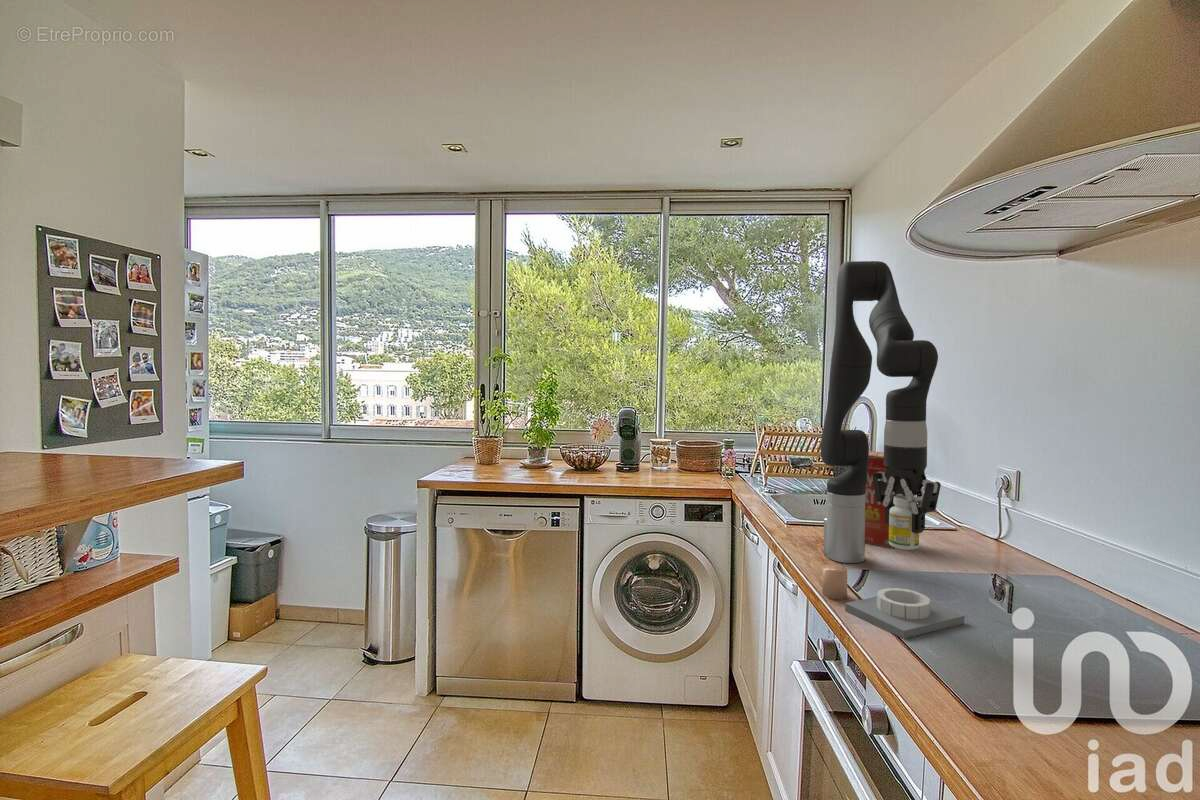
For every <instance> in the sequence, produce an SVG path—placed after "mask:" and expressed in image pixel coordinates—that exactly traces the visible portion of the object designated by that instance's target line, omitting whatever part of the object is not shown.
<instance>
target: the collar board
mask: <svg viewBox="0 0 1200 800" xmlns="http://www.w3.org/2000/svg"><path fill="white" fill-rule="evenodd" d="M844 610H845V611H846V612H848V613H850V614H851V615H854V616H856V617H859V618H860V619H862V620H863V621H866V622H869V623H870V624H872V625H874V626H877V627H879V628H880V629H882V630H885V631H887V632H889V633H891V634H893V635H895V636H897V637H898V638H901V637H902V639H903V638H905V639H907V638H906V637H909V638H911V637H910V636H913V637H915V636H914V635H917V636H920V635H919V634H921V635H924V634H923V633H925V634H928V633H927V632H929V633H931V632H930V631H933V630H936V631H939V630H938V629H940V630H944V629H947V627H948V628H951V627H955V626H959V625H963V624H965V615H964V614H961V613H959V612H956V611H954V610H952V609H950V608H946V607H944V606H942V605H940V604H936V603H934V602H931V599H930V598H929V597H928V596H927V595H926V594H923V593H921V592H918V591H915V590H911V589H906V588H900V587H898V588H897V587H887V588H882V589H879V590H878V591H877V593H876V596H872V597H868V598H863V599H859V600H858V599H857V600H853V601H849V602H845V603H844ZM943 628H944V629H943ZM933 632H934V631H933Z"/></svg>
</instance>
